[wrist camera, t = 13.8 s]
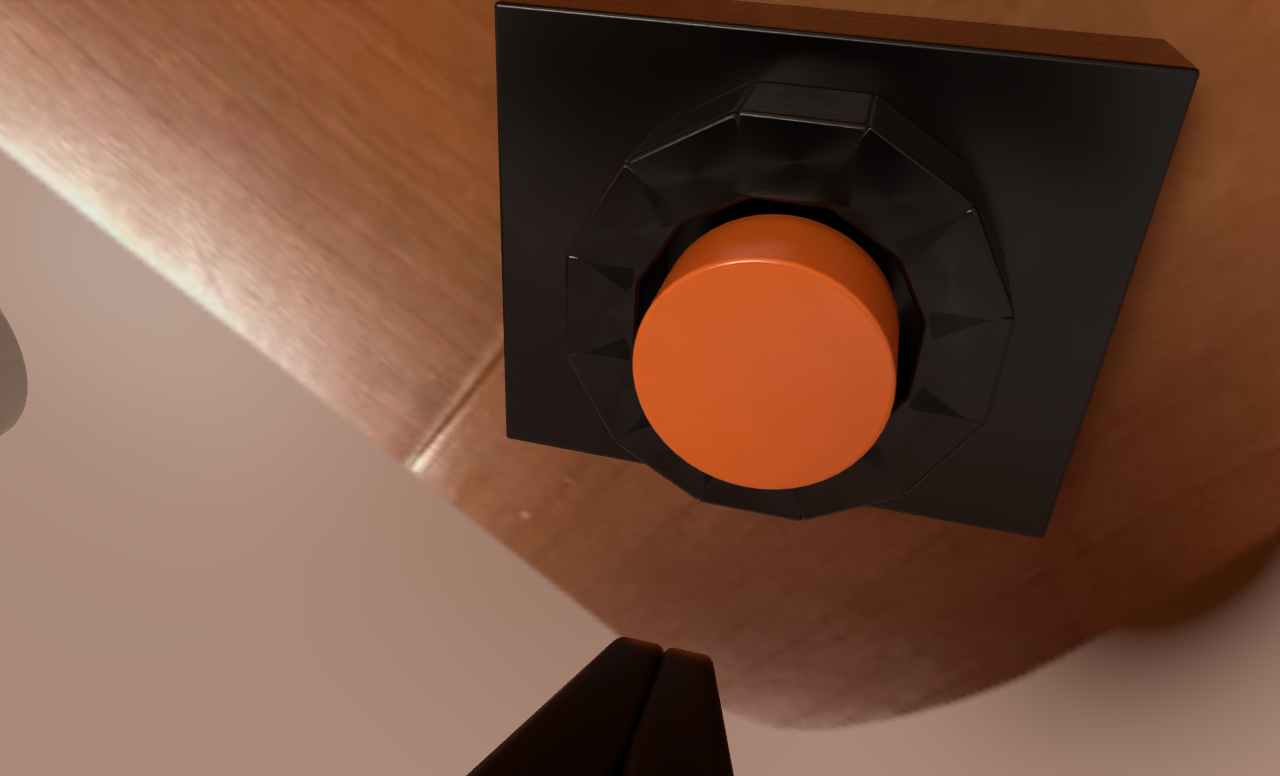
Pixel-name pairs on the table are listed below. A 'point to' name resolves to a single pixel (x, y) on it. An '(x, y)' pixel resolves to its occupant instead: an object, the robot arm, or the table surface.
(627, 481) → the table surface
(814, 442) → the button
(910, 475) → the button housing
